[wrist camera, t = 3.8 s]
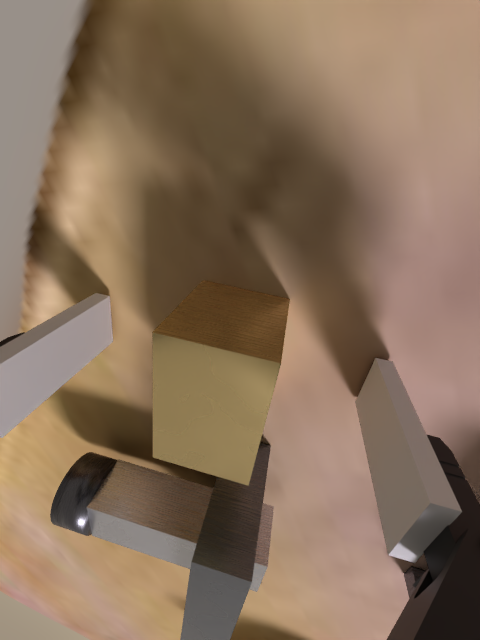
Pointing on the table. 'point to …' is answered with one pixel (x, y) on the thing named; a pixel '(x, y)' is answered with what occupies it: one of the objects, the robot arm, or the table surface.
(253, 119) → the table surface
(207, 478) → the table surface
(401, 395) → the robot arm
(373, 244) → the table surface
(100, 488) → the shaft
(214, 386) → the block
